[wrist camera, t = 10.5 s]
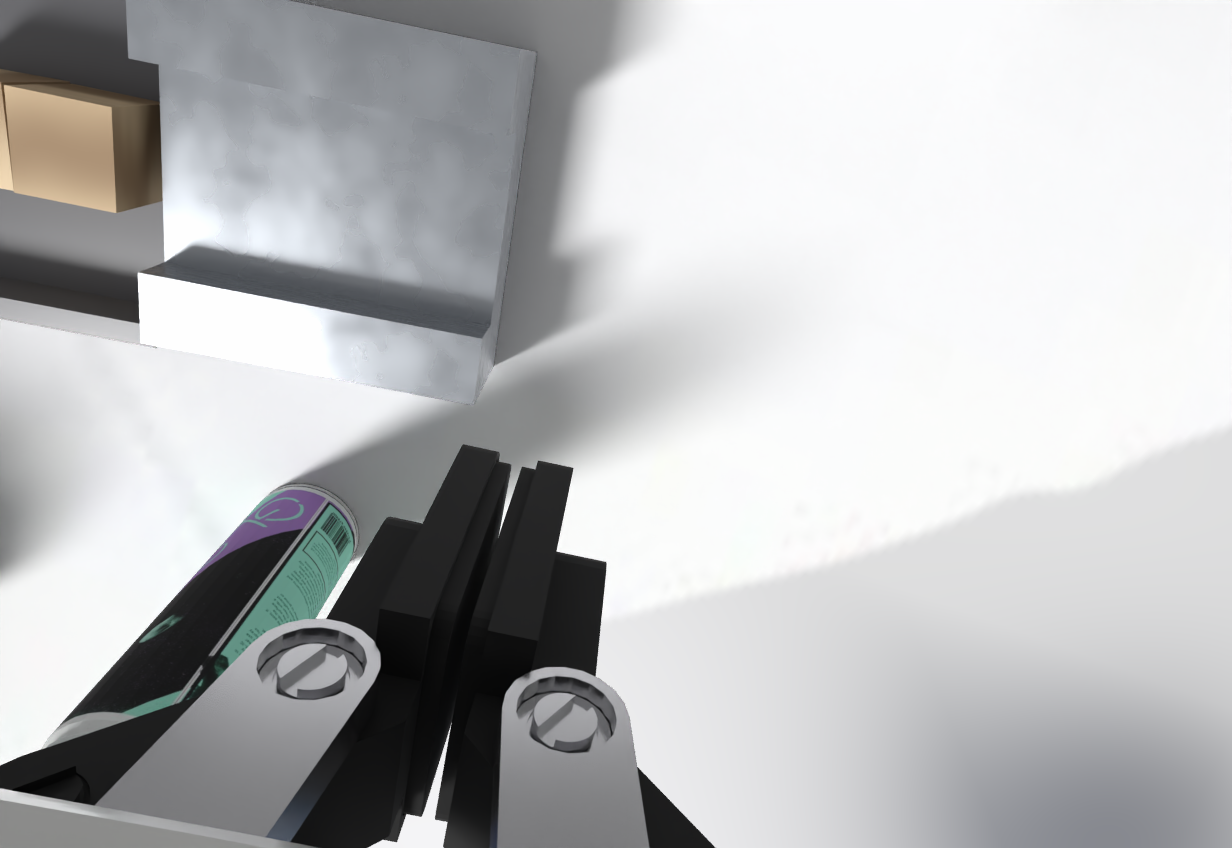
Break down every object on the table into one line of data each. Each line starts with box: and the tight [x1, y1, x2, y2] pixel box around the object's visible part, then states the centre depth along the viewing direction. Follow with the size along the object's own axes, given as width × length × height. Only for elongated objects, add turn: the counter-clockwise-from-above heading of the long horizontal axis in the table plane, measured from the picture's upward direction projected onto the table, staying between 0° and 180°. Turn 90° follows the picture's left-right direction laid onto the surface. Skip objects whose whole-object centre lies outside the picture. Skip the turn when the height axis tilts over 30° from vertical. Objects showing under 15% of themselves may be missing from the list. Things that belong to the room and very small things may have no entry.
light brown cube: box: [4, 84, 163, 213], centre depth 33 cm, size 4×4×4 cm
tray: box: [0, 0, 165, 348], centre depth 34 cm, size 16×14×3 cm
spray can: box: [42, 484, 359, 749], centre depth 34 cm, size 6×6×20 cm
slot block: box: [126, 0, 537, 405], centre depth 34 cm, size 14×14×5 cm
